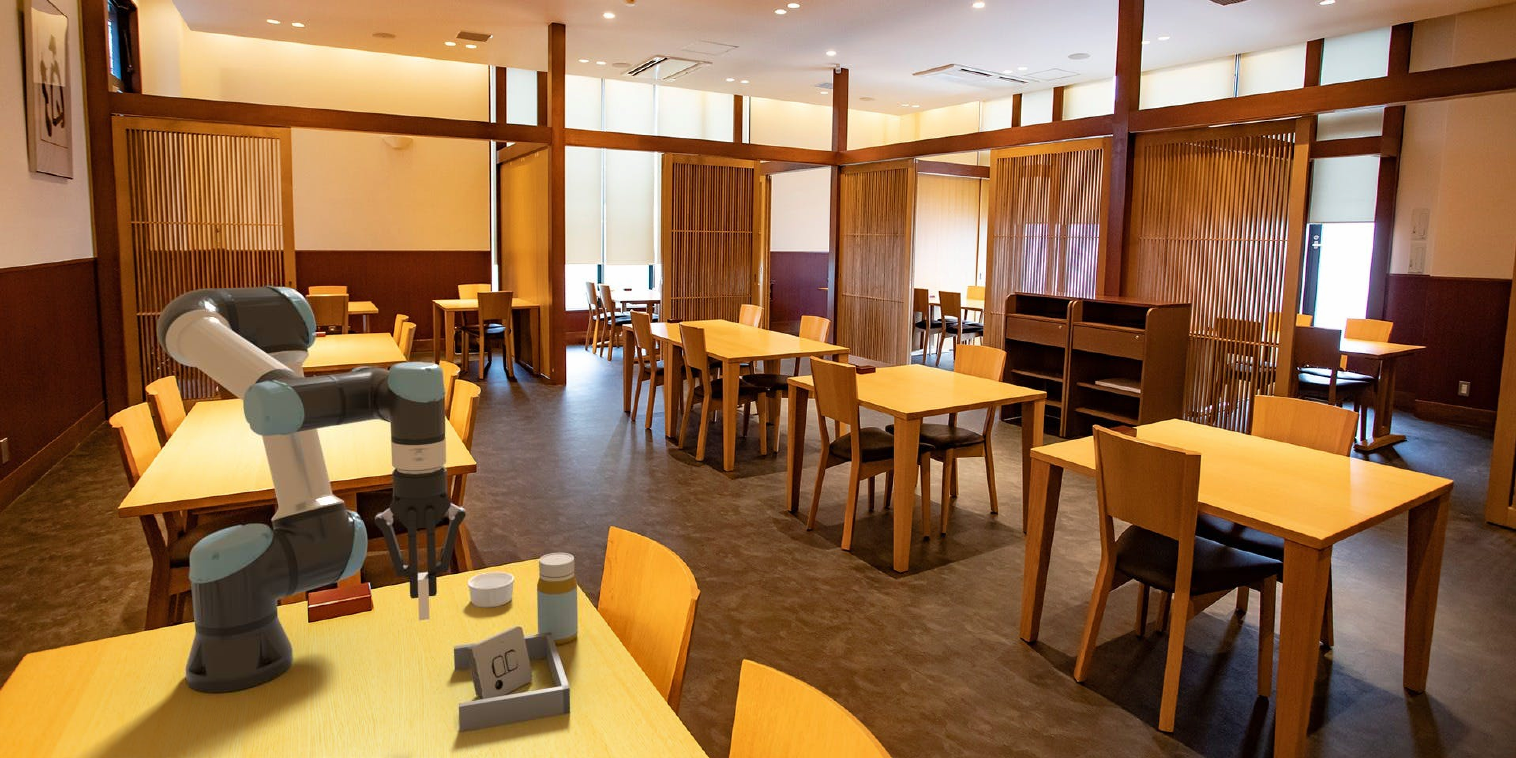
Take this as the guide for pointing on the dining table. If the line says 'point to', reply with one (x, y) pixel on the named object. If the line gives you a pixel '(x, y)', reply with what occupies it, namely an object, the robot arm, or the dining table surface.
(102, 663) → the dining table surface
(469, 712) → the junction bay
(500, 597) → the ramekin
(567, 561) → the bottle
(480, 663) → the electrical switch
